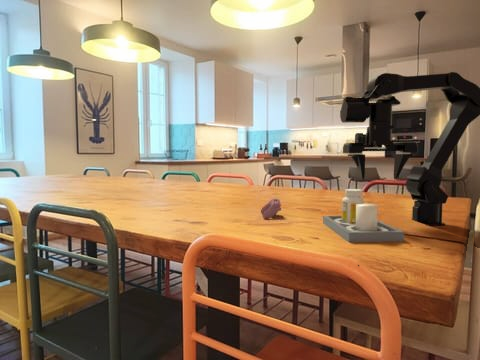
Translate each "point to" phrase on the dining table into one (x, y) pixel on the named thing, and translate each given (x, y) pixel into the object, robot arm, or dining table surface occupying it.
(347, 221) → the supplement bottle
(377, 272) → the dining table surface
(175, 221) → the dining table surface
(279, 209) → the video game controller
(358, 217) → the jaw peg
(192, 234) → the dining table surface
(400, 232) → the tray
